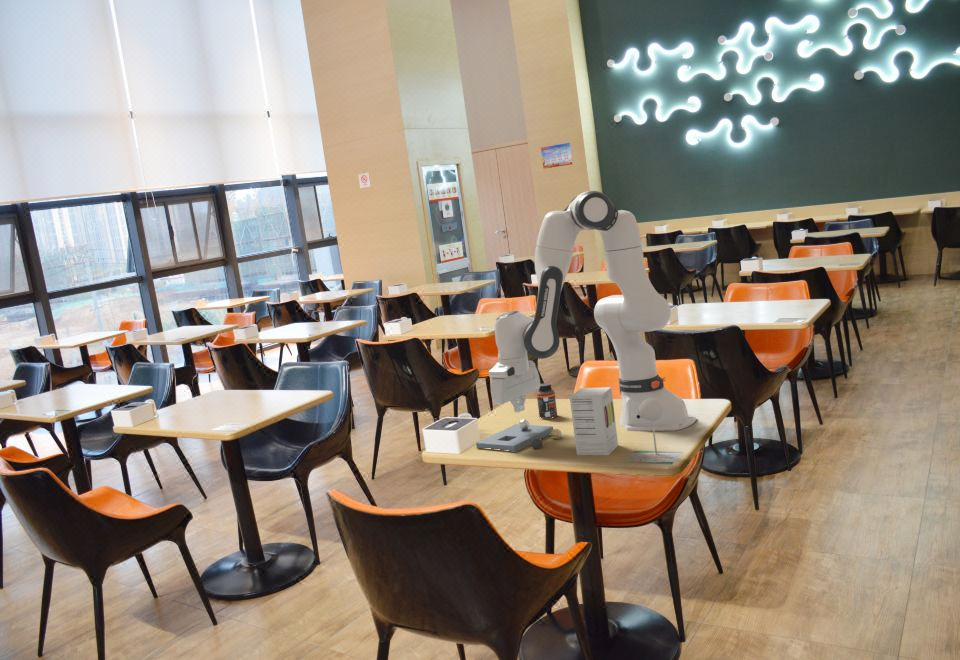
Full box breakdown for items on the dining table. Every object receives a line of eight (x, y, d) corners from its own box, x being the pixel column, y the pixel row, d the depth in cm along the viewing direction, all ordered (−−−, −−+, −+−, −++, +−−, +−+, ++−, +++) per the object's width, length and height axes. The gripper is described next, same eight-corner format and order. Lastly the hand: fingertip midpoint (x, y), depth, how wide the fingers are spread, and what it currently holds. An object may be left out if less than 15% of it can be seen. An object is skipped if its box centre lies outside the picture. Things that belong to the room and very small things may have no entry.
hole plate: (516, 431, 249) (515, 424, 249) (554, 434, 240) (553, 426, 240) (477, 451, 234) (475, 442, 234) (515, 454, 225) (514, 446, 225)
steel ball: (532, 428, 241) (530, 418, 240) (525, 431, 238) (524, 421, 238) (523, 428, 243) (522, 417, 242) (517, 431, 240) (515, 420, 240)
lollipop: (640, 457, 207) (634, 401, 205) (649, 450, 212) (643, 395, 210) (663, 458, 203) (657, 401, 202) (671, 451, 208) (665, 395, 206)
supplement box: (609, 456, 211) (601, 395, 209) (576, 456, 215) (568, 396, 213) (619, 445, 220) (612, 386, 218) (587, 445, 224) (580, 387, 222)
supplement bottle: (552, 420, 257) (548, 386, 256) (536, 420, 260) (532, 386, 259) (560, 415, 262) (556, 382, 261) (544, 415, 265) (540, 382, 264)
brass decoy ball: (564, 438, 235) (563, 427, 234) (558, 441, 232) (557, 430, 232) (555, 437, 237) (554, 427, 236) (549, 440, 234) (548, 430, 234)
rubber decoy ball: (545, 448, 227) (544, 437, 227) (539, 451, 224) (537, 440, 224) (536, 447, 229) (534, 436, 229) (530, 451, 227) (528, 440, 226)
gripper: (525, 358, 247) (531, 402, 249) (484, 373, 232) (490, 419, 234) (542, 358, 243) (547, 402, 245) (501, 373, 228) (507, 420, 230)
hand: (519, 411), depth 239 cm, fingers closed
